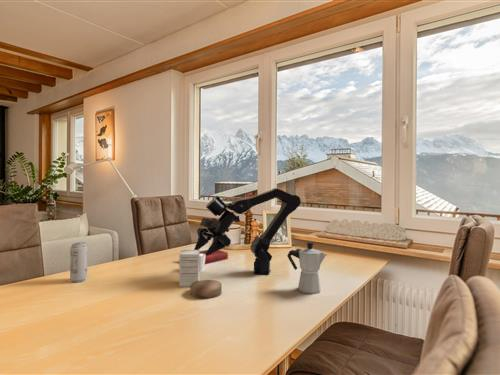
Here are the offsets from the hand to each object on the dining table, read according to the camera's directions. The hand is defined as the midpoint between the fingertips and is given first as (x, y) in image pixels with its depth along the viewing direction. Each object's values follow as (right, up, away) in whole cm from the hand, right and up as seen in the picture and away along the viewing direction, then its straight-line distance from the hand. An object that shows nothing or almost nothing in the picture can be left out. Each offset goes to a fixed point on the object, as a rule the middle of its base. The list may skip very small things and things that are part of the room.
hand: (200, 252), depth 126 cm
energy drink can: (-48, -11, -1) cm, 50 cm away
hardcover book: (-3, -11, +33) cm, 35 cm away
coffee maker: (+41, -12, -8) cm, 44 cm away
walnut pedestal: (+4, -12, -13) cm, 18 cm away
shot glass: (-4, -11, +16) cm, 20 cm away
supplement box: (-4, -12, -3) cm, 13 cm away
